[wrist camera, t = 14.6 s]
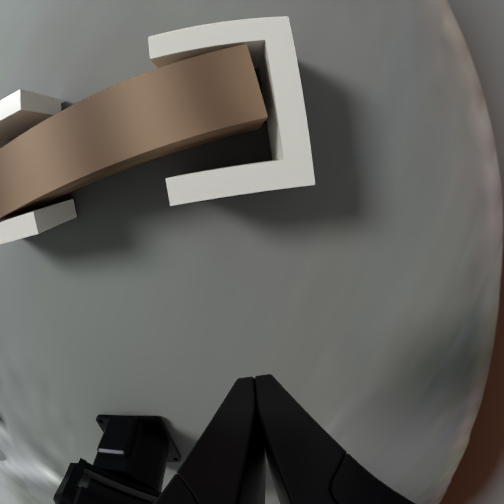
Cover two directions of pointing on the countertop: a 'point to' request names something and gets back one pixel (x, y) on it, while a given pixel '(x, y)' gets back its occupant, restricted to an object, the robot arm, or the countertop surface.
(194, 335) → the countertop surface
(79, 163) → the brown bar
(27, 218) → the cap
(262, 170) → the cap
